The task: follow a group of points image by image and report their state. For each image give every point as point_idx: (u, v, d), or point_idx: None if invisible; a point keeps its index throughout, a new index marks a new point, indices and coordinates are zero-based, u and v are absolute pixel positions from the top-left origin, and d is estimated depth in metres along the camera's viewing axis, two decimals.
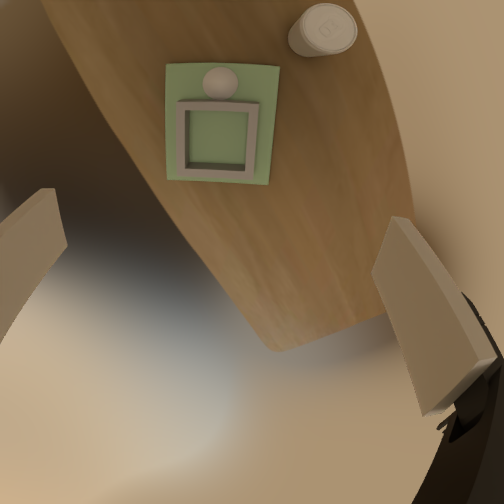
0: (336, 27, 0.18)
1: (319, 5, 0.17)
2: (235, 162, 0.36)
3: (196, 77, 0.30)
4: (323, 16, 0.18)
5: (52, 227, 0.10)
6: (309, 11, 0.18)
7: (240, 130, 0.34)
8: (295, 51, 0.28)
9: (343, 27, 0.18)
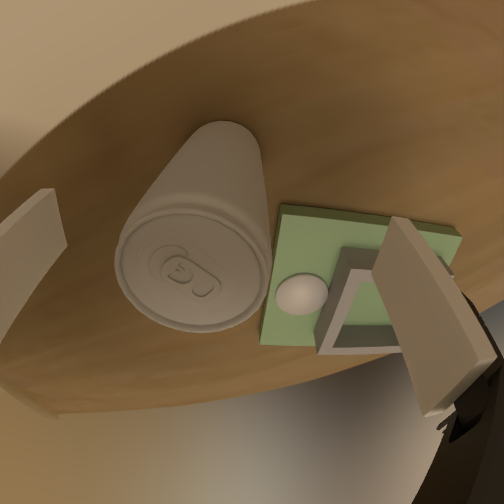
0: (186, 265, 0.08)
1: (132, 299, 0.09)
2: None
3: (286, 317, 0.24)
4: (160, 293, 0.09)
5: (52, 227, 0.10)
6: (157, 317, 0.09)
7: None
8: None
9: (179, 244, 0.08)
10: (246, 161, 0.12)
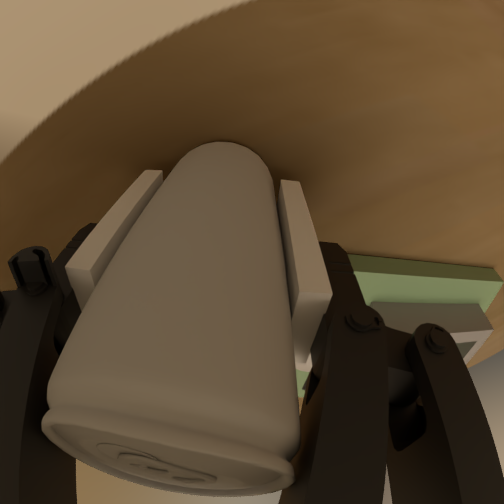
0: (156, 464, 0.04)
1: (89, 461, 0.05)
2: None
3: (298, 373, 0.20)
4: (125, 469, 0.04)
5: None
6: (128, 477, 0.05)
7: None
8: None
9: (137, 449, 0.03)
10: (257, 231, 0.07)
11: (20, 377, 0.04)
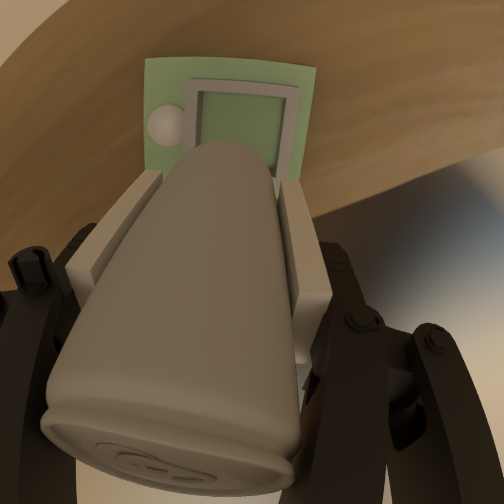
0: (155, 464, 0.04)
1: (89, 461, 0.05)
2: (279, 108, 0.24)
3: (161, 153, 0.27)
4: (124, 468, 0.04)
5: None
6: (128, 477, 0.05)
7: (233, 99, 0.24)
8: None
9: (136, 448, 0.03)
10: (257, 230, 0.07)
11: (20, 377, 0.04)
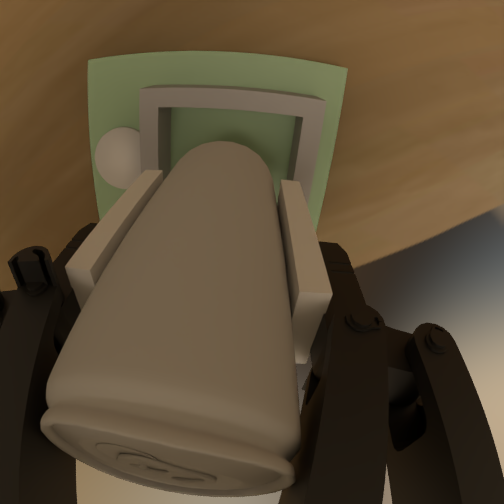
0: (155, 464, 0.04)
1: (89, 461, 0.05)
2: (289, 130, 0.16)
3: (119, 197, 0.18)
4: (125, 469, 0.04)
5: None
6: (128, 477, 0.05)
7: (217, 117, 0.16)
8: None
9: (136, 448, 0.03)
10: (257, 230, 0.07)
11: (20, 377, 0.04)
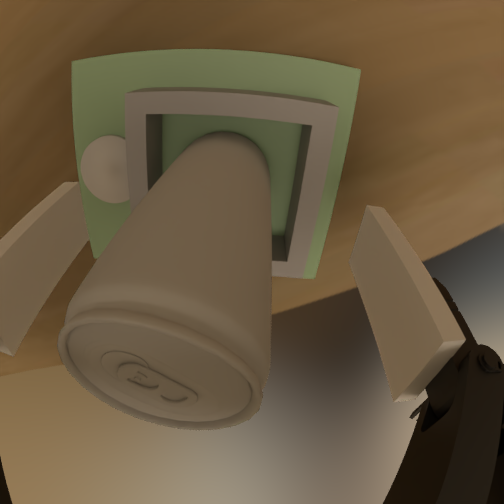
0: (147, 374, 0.05)
1: (92, 389, 0.06)
2: (295, 139, 0.14)
3: (108, 211, 0.17)
4: (122, 391, 0.06)
5: (76, 220, 0.10)
6: (124, 408, 0.07)
7: (214, 124, 0.14)
8: None
9: (133, 352, 0.05)
10: (244, 200, 0.09)
11: None
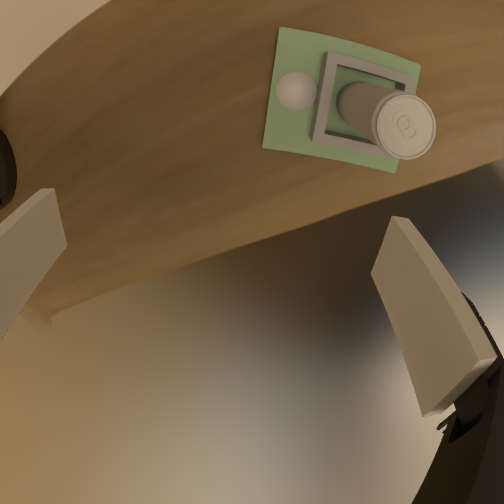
0: (408, 120, 0.16)
1: (379, 134, 0.17)
2: None
3: (285, 116, 0.28)
4: (393, 133, 0.17)
5: (52, 227, 0.10)
6: (386, 147, 0.17)
7: (356, 78, 0.25)
8: None
9: (407, 110, 0.16)
10: None
11: None
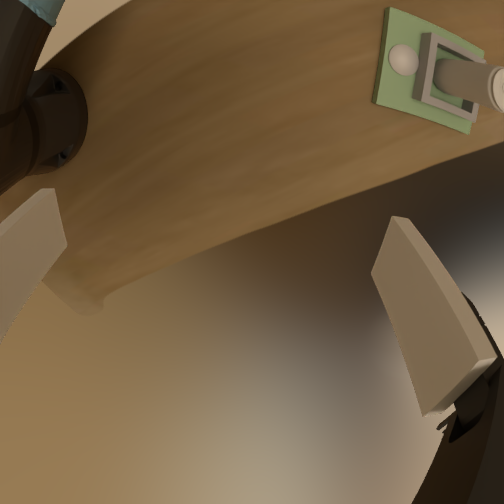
0: None
1: (494, 93, 0.17)
2: None
3: (394, 79, 0.28)
4: (501, 93, 0.17)
5: (52, 227, 0.10)
6: (497, 103, 0.18)
7: (443, 56, 0.25)
8: None
9: None
10: None
11: None
